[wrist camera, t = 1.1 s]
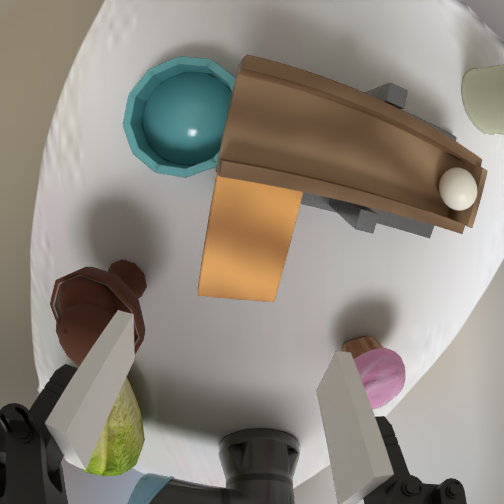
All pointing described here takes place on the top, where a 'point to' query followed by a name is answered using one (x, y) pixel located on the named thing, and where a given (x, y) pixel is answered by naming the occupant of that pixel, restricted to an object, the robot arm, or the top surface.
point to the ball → (458, 188)
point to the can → (485, 98)
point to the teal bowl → (179, 115)
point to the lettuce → (119, 437)
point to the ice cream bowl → (96, 305)
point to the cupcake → (377, 369)
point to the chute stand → (367, 216)
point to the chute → (314, 170)
